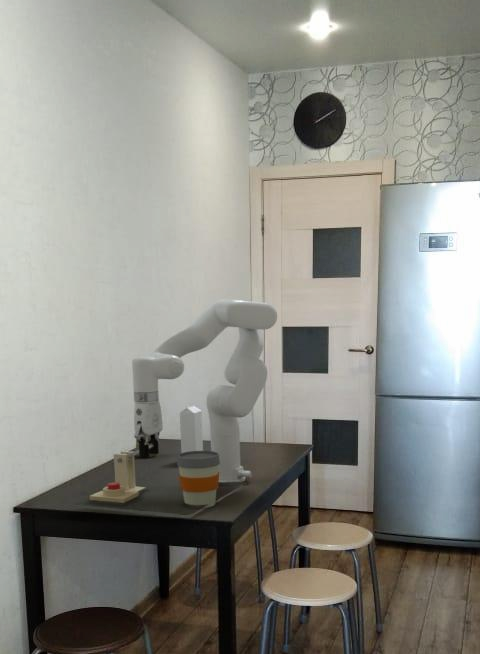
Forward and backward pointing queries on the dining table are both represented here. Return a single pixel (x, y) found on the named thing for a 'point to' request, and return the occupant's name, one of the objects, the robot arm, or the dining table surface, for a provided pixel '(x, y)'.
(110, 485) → the button
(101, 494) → the control box
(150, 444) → the switch lever
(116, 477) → the switch bracket
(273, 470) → the dining table surface
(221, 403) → the robot arm
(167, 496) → the dining table surface
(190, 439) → the milk
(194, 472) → the reusable coffee cup
